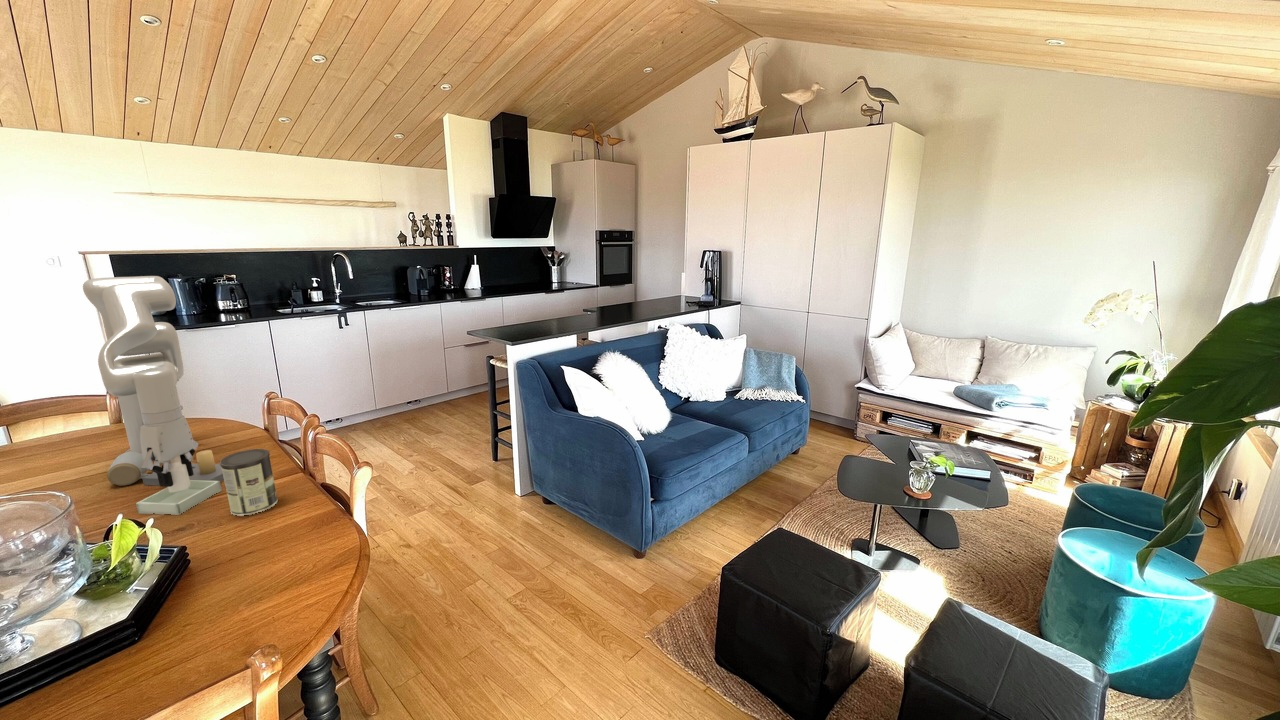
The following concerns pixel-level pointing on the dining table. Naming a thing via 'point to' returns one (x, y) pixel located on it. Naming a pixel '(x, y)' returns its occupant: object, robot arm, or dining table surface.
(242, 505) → the coffee can
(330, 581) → the dining table surface
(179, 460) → the small white bottle
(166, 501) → the tray
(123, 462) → the ceramic mug
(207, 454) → the socket block
